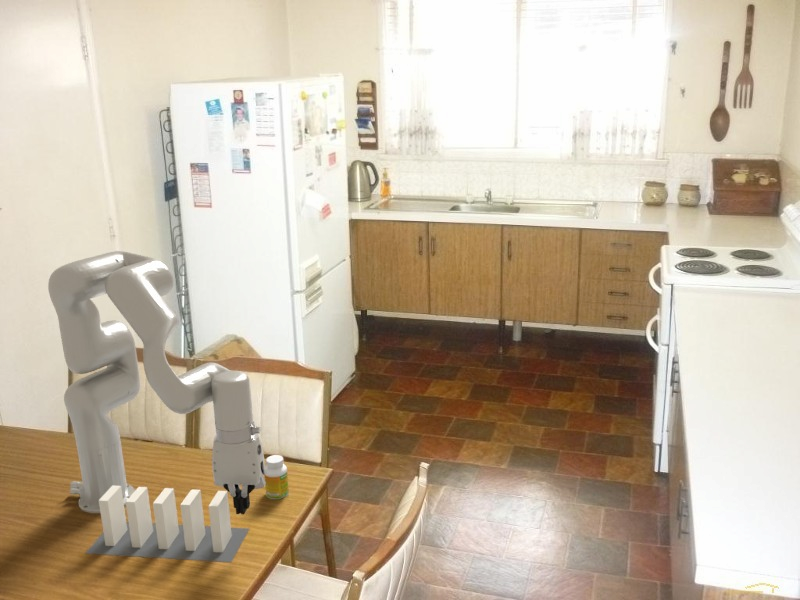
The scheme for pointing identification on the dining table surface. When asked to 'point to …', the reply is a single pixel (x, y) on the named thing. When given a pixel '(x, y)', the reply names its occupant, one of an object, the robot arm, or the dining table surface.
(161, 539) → the domino
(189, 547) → the domino
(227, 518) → the domino
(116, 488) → the domino
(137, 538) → the domino
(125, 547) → the mat
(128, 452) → the dining table surface
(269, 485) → the supplement bottle
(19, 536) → the dining table surface
